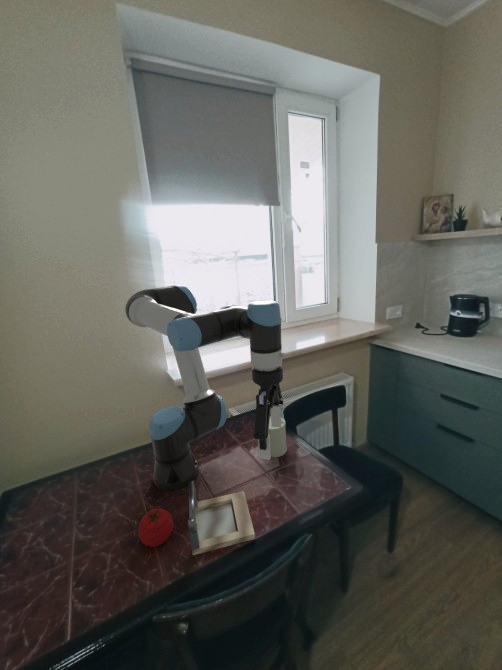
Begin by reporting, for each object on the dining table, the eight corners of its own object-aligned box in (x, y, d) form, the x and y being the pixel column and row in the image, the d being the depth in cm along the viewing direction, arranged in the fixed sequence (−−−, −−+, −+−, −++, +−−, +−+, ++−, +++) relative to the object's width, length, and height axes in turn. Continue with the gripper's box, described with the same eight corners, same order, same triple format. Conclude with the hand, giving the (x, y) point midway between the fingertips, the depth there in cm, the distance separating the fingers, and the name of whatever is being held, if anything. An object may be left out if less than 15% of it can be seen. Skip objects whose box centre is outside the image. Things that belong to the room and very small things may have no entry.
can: (288, 456, 106) (286, 427, 103) (262, 458, 106) (260, 429, 103) (285, 441, 115) (284, 413, 112) (262, 442, 115) (260, 415, 112)
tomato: (173, 549, 75) (168, 524, 73) (137, 557, 74) (131, 532, 72) (176, 520, 83) (172, 497, 81) (144, 527, 82) (139, 503, 80)
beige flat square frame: (192, 555, 73) (191, 550, 72) (191, 507, 87) (190, 503, 87) (255, 538, 76) (254, 533, 75) (244, 495, 90) (243, 490, 90)
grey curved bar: (192, 555, 71) (187, 524, 69) (191, 501, 87) (187, 475, 85) (199, 553, 72) (194, 522, 69) (197, 500, 88) (193, 473, 85)
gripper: (270, 389, 58) (275, 477, 64) (290, 349, 81) (292, 416, 87) (235, 387, 61) (242, 472, 66) (264, 348, 83) (268, 414, 89)
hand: (271, 441), depth 77 cm, fingers open, 13 cm apart
